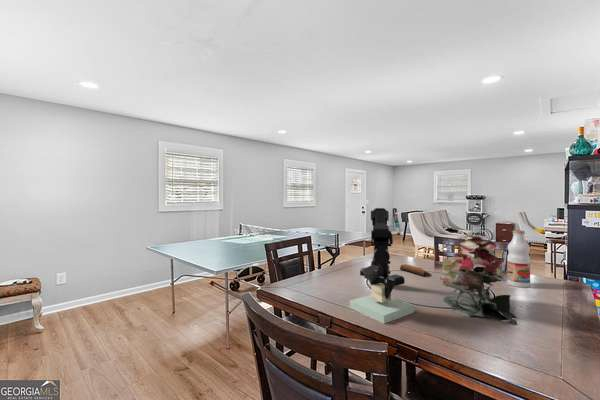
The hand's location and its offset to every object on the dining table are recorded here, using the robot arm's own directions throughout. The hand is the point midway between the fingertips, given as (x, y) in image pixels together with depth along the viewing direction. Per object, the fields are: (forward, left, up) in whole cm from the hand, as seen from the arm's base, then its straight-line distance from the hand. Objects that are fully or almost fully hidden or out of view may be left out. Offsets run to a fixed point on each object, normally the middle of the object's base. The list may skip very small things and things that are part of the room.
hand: (381, 296), depth 117 cm
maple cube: (0, 0, -1) cm, 1 cm away
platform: (0, 0, -6) cm, 6 cm away
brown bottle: (-61, -26, -6) cm, 67 cm away
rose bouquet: (-34, +20, -6) cm, 40 cm away
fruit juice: (-83, +18, -6) cm, 85 cm away
